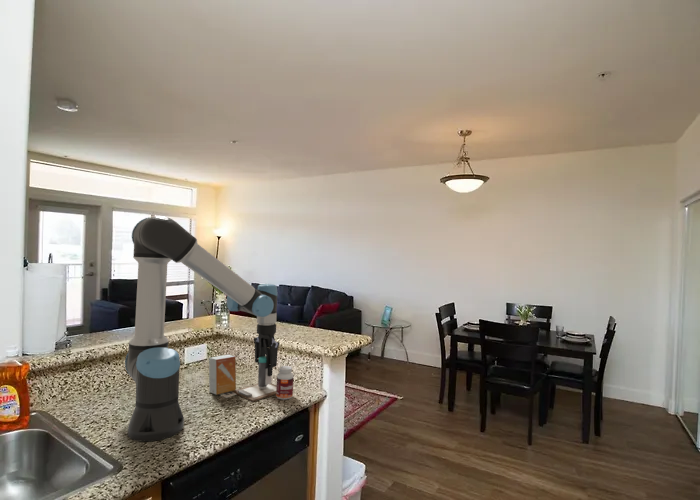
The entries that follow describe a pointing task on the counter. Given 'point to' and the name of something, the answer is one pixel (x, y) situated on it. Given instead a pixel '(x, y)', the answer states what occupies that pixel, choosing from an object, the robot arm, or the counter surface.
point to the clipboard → (256, 392)
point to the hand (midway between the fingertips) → (265, 382)
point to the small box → (222, 374)
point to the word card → (228, 394)
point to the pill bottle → (284, 383)
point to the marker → (262, 373)
